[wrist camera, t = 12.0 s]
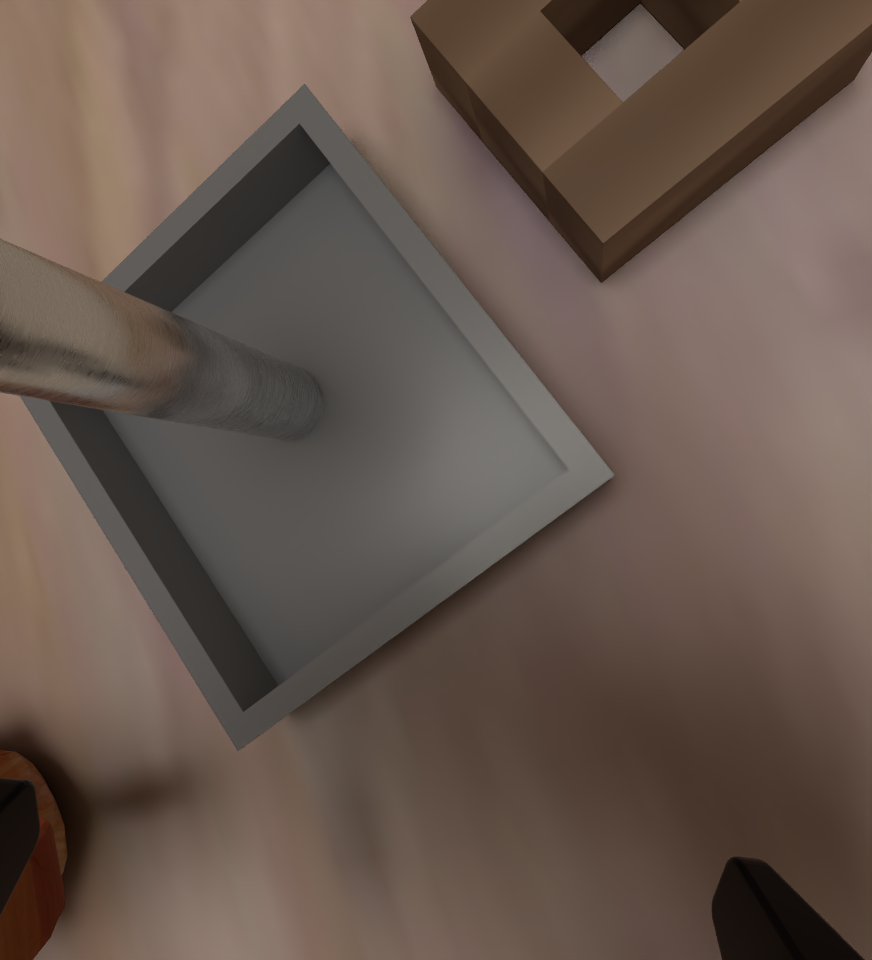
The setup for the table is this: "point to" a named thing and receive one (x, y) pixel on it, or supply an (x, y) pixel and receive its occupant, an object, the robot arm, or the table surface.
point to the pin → (138, 356)
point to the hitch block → (636, 101)
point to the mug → (34, 872)
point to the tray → (318, 430)
